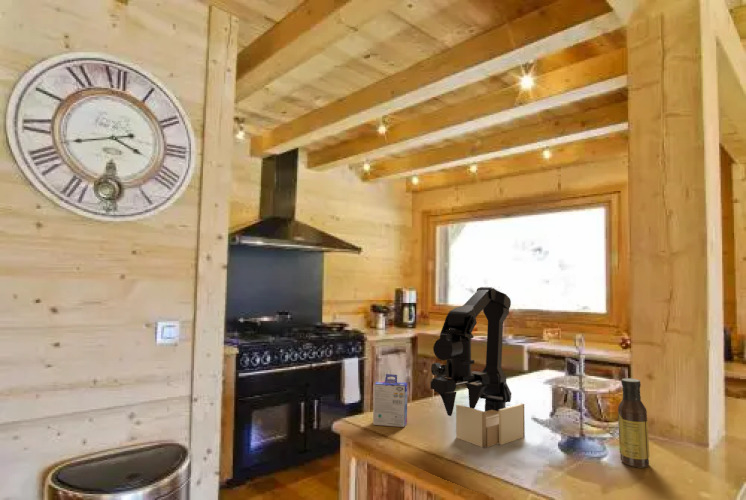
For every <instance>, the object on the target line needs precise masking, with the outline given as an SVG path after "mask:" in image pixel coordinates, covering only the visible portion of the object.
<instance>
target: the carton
mask: <svg viewBox="0 0 746 500" xmlns="http://www.w3.org/2000/svg"><path fill="white" fill-rule="evenodd" d="M484 412H486V448H489V447H491V446H495V445H497V444H498V445H499V411H495V410H489V411H485V410H484Z"/></svg>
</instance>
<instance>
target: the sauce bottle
mask: <svg viewBox="0 0 746 500" xmlns="http://www.w3.org/2000/svg"><path fill="white" fill-rule="evenodd" d="M620 383H621V386H622V399H621V401H620V402H619V404H618V407H617V420H618V443H619V444H618V445H619V447H618V448H619V455H620V461H621V462H622V463H623V464H625V465H627V466H629V467H634V468H637V469H638V468H639V469H641V468H642V469H643V468H648V466H649V465H650V460H649V459H650V444H649V443H650V441H649V420H648V410H647V408H646V406H645V405H644V403H643V402H642V398H641V380H639V379H636V378H630V377H629V378H621V382H620Z"/></svg>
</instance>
